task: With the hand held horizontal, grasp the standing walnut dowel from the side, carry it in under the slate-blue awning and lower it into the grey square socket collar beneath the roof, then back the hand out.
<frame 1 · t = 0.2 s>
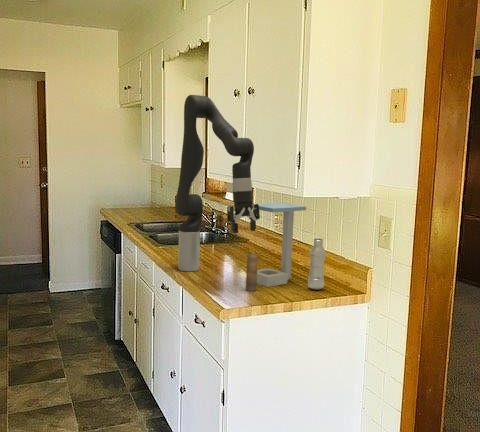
hand: (244, 231, 202), 22 cm above the worktop, tool pointing down, fingers open, 8 cm apart
peg: (251, 290, 202), on the worktop
socket stand: (268, 281, 215), on the worktop
plastic bottle: (315, 289, 207), on the worktop
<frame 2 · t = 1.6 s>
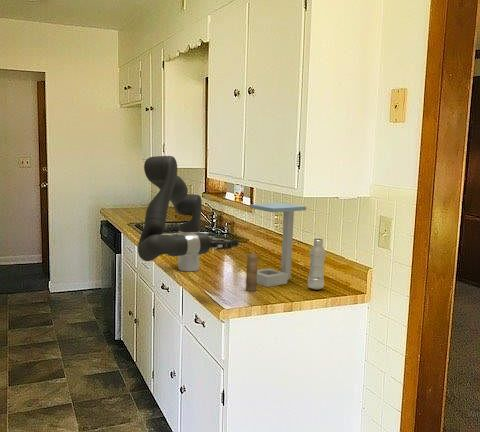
hand: (230, 240, 193), 20 cm above the worktop, tool horizontal, fingers open, 8 cm apart
nothing on the worktop moved.
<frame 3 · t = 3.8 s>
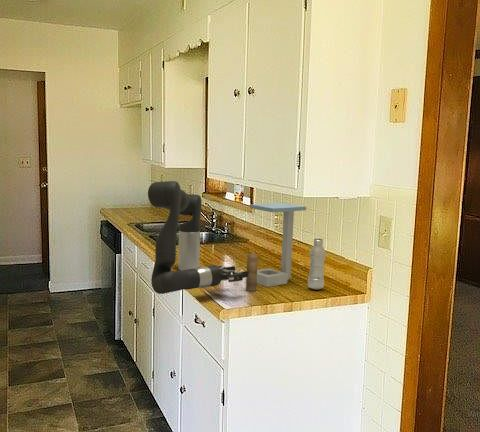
hand: (241, 271, 198), 8 cm above the worktop, tool horizontal, fingers open, 8 cm apart
nothing on the worktop moved.
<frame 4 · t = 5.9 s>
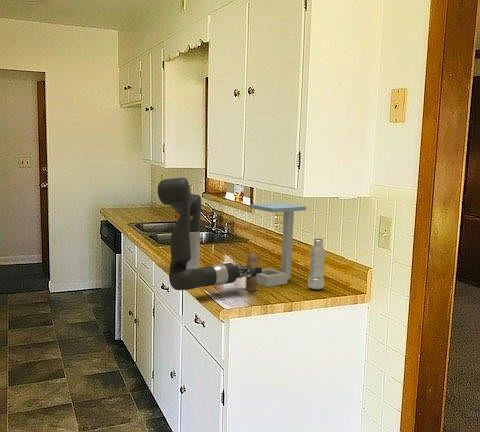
hand: (257, 268, 203), 8 cm above the worktop, tool horizontal, fingers closed on peg, 4 cm apart
peg: (250, 289, 202), on the worktop, touching gripper
everything else where it was.
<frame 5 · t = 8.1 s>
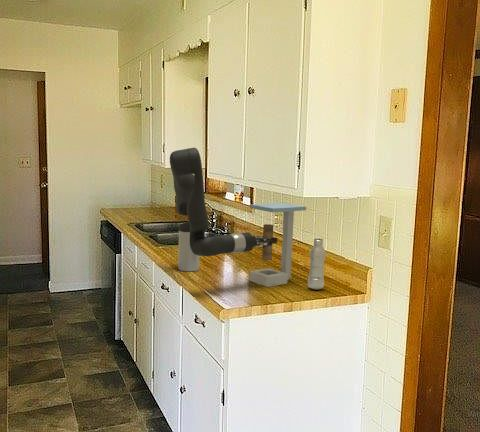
hand: (272, 239, 212), 18 cm above the worktop, tool horizontal, fingers closed on peg, 4 cm apart
peg: (266, 259, 212), point 10 cm above the worktop, touching gripper
everything else where it was.
when the fingers open (10 cm above the worktop, at t = 10.5 s): peg drops 2 cm, resting in socket stand.
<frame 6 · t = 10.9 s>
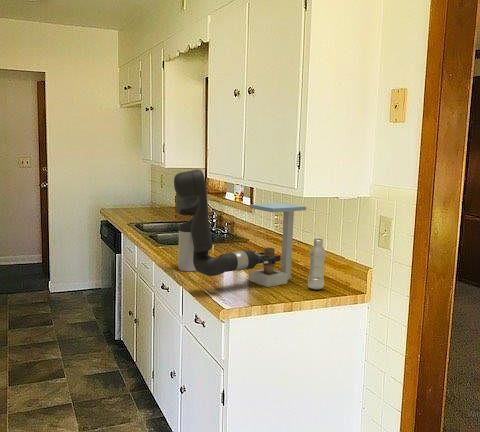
hand: (273, 256, 215), 10 cm above the worktop, tool horizontal, fingers open, 7 cm apart
peg: (268, 282, 215), resting in socket stand
everything else where it was.
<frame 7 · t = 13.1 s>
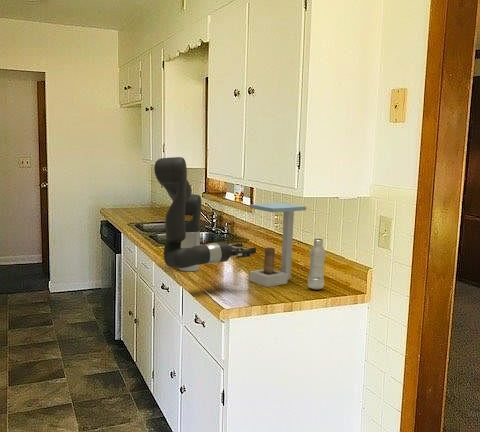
hand: (248, 248, 207), 15 cm above the worktop, tool horizontal, fingers open, 8 cm apart
nothing on the worktop moved.
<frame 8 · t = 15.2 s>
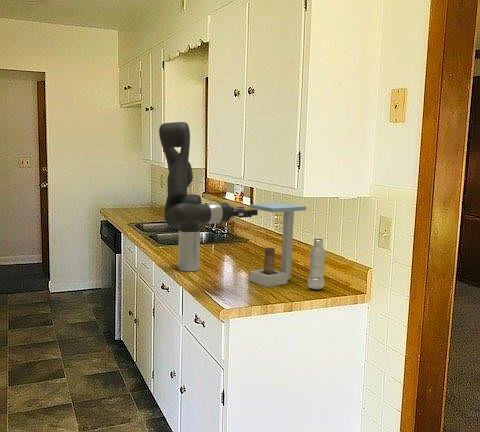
hand: (250, 210, 204), 30 cm above the worktop, tool horizontal, fingers open, 8 cm apart
nothing on the worktop moved.
at the end: peg 0.1 cm off-centre on the socket stand, point 0.0 cm above the socket stand's base; peg tilted 0°; the gripper is holding nothing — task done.
